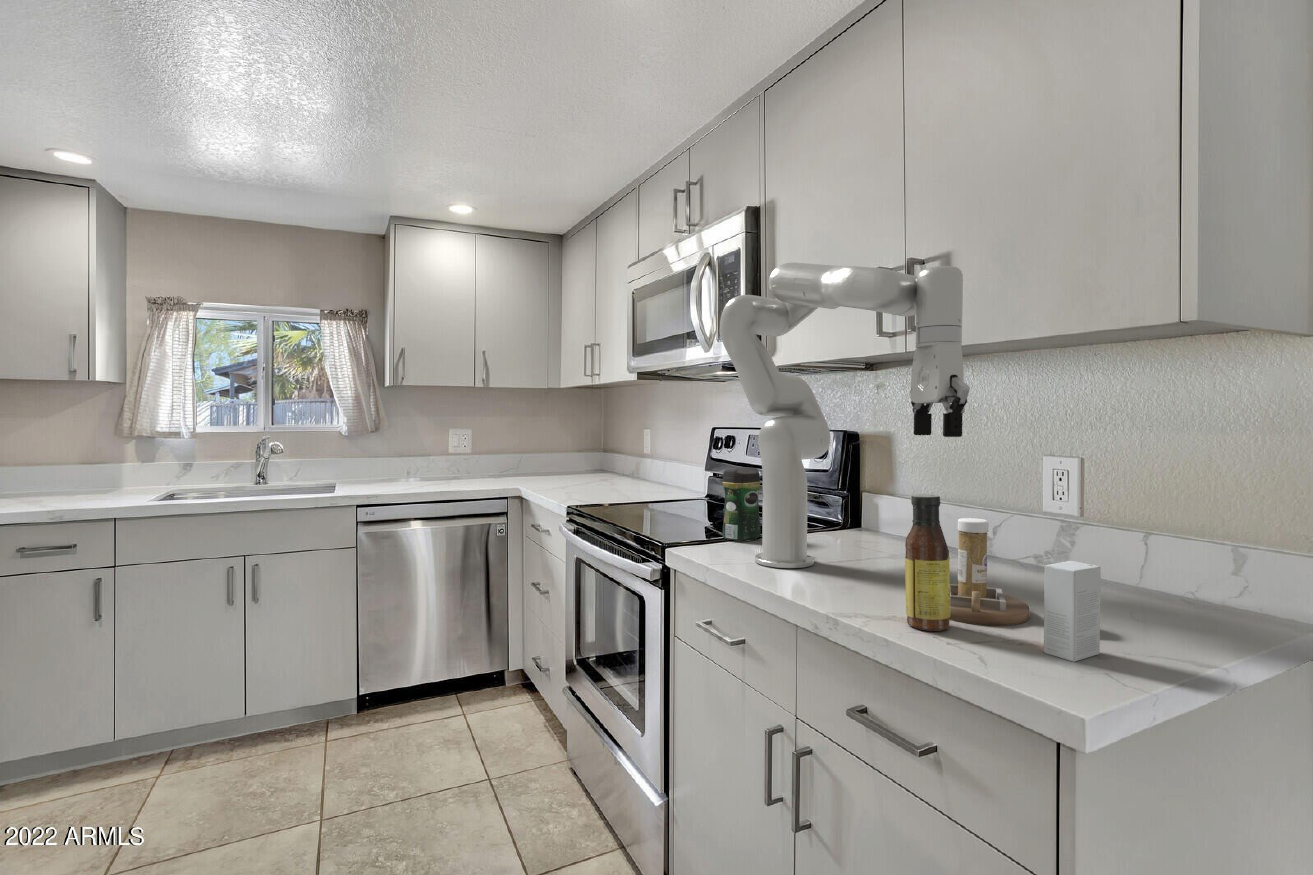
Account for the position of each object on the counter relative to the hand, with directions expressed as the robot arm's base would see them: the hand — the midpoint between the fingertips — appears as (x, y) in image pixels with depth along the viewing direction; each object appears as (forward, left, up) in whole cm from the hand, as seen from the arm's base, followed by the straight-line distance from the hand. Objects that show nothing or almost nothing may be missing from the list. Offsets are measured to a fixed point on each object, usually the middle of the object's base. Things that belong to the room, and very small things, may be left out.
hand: (936, 435), depth 118 cm
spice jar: (+8, +6, -27) cm, 29 cm away
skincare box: (+25, +17, -28) cm, 42 cm away
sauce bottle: (+20, -1, -28) cm, 35 cm away
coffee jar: (-38, -46, -28) cm, 66 cm away
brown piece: (+8, +6, -28) cm, 30 cm away
